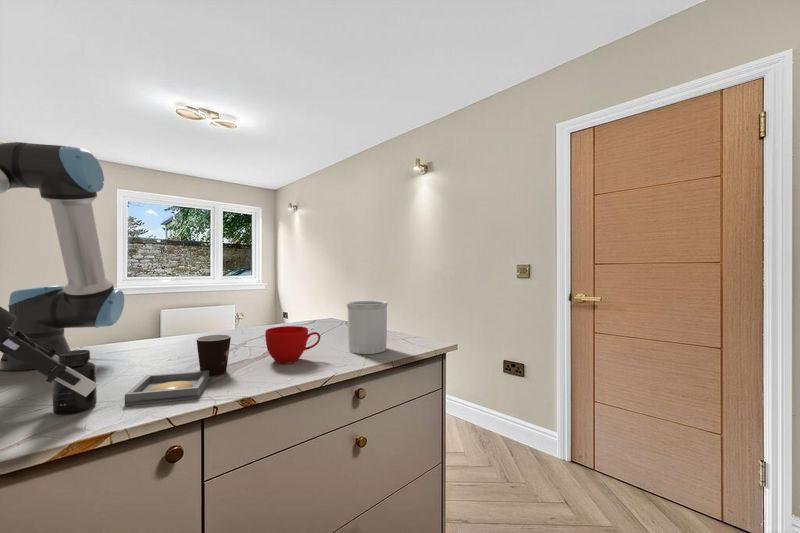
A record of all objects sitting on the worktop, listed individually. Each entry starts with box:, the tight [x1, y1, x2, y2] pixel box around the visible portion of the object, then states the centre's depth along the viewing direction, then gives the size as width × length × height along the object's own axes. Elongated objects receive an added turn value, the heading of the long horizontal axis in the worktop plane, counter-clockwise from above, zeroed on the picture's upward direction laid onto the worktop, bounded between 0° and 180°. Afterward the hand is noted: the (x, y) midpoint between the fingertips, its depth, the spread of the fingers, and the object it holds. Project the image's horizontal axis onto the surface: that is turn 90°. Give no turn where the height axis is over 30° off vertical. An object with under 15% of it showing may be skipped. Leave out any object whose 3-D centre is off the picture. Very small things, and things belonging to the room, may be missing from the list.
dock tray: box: [124, 370, 210, 407], centre depth 85 cm, size 14×14×2 cm
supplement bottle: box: [51, 349, 98, 416], centre depth 74 cm, size 7×7×12 cm
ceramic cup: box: [265, 325, 321, 364], centre depth 114 cm, size 13×17×10 cm
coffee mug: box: [195, 334, 232, 378], centre depth 101 cm, size 12×9×10 cm
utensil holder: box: [346, 299, 389, 355], centre depth 129 cm, size 15×15×18 cm
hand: (84, 383), depth 75 cm, fingers open, 13 cm apart
